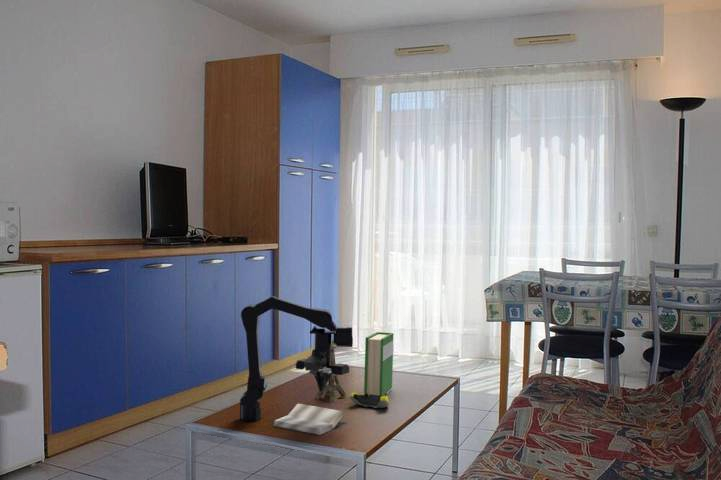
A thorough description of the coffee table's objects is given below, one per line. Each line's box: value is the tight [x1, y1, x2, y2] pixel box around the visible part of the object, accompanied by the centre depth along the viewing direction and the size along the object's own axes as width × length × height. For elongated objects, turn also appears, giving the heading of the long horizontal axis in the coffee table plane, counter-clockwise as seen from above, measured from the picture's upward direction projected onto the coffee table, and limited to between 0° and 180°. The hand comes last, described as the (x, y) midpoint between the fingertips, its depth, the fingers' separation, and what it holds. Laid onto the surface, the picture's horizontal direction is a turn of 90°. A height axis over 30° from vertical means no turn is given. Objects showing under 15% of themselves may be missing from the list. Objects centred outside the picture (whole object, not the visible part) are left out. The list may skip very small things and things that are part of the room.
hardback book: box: [363, 331, 395, 397], centre depth 271 cm, size 18×7×24 cm, turn 164°
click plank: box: [287, 403, 344, 429], centre depth 223 cm, size 18×7×2 cm, turn 61°
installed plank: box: [273, 415, 333, 436], centre depth 217 cm, size 18×8×2 cm, turn 61°
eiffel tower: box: [312, 334, 350, 403], centre depth 262 cm, size 11×11×25 cm
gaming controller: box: [349, 392, 390, 409], centre depth 249 cm, size 15×6×10 cm
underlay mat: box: [274, 421, 347, 436], centre depth 221 cm, size 19×17×1 cm
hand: (321, 391), depth 227 cm, fingers closed
